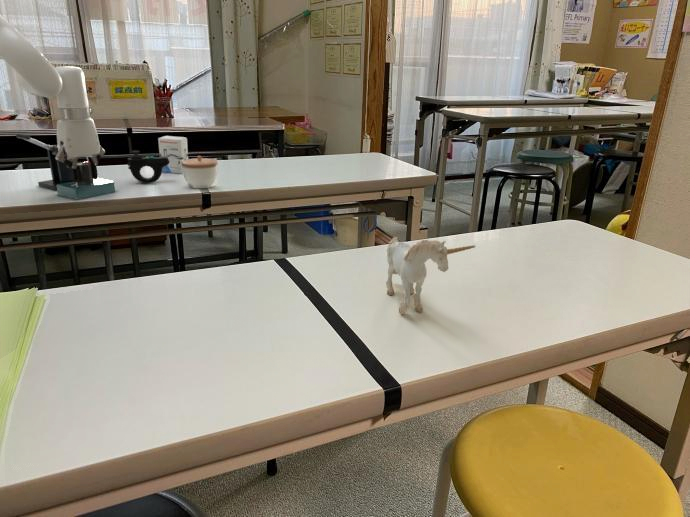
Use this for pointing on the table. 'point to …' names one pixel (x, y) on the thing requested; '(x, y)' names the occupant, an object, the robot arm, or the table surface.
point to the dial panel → (85, 189)
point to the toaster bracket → (56, 171)
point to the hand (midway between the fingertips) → (85, 179)
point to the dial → (85, 173)
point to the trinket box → (200, 171)
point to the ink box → (173, 152)
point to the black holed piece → (139, 162)
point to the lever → (36, 142)
